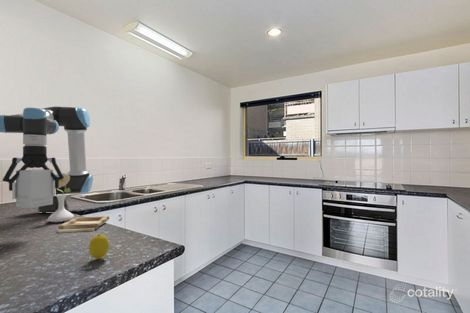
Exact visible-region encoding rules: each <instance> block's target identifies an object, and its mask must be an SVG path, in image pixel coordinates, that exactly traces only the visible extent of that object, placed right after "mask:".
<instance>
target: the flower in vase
mask: <svg viewBox="0 0 470 313" xmlns="http://www.w3.org/2000/svg"><path fill="white" fill-rule="evenodd" d="M63 176H64V178H63V179H61V180H59V187H62V186H65V185H66V184H67V183H68V181H70V176H69V175H67V173H66V172H65V173H64V174H63ZM58 177H59V176H58ZM54 181H55V180H54ZM59 187H58V188H59ZM58 188H57V190H59V189H58ZM59 191H61V192H63V191H62V190H59ZM64 191H65V192H66V193H68V192H71V191H70V189H69V188H67V189H66V186H65V190H64ZM63 193H64V192H63ZM63 193H62V194H58V195H56V197H57V198H58V202H59V207H58V210H57V211H56V212H54V213H51V214H50V216H48V218H47V221H48V222H51V223H62V222H67V221H69V220H71V219H73V218H75V214H73V213H72V212H70V211H69V210H66V209H65V208H64V199H66V197H67V195H68V194H63Z"/></svg>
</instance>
